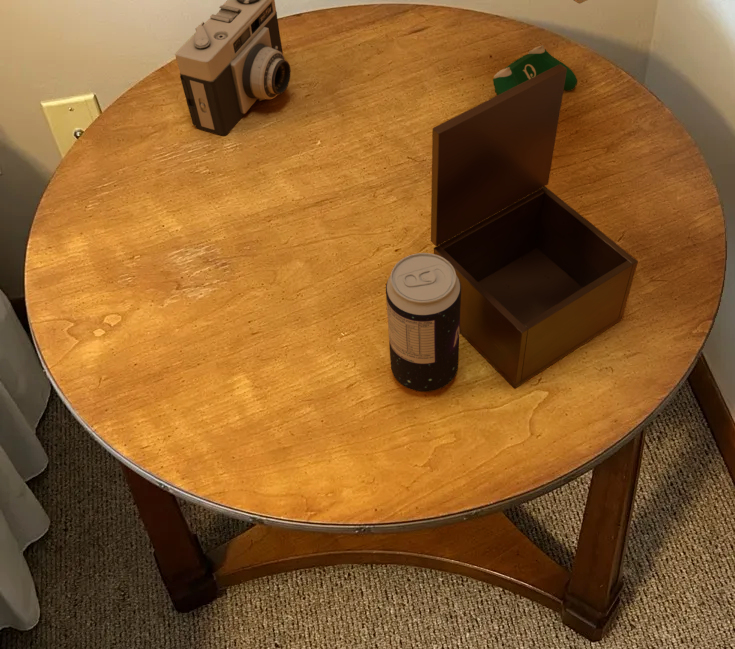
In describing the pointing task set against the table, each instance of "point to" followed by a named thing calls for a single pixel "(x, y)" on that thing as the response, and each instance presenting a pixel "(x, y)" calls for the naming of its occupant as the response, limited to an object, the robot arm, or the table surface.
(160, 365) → the table surface
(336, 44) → the table surface
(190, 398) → the table surface
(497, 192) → the lid
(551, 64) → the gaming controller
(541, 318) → the chest
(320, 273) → the table surface
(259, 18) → the camera
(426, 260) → the beverage can
